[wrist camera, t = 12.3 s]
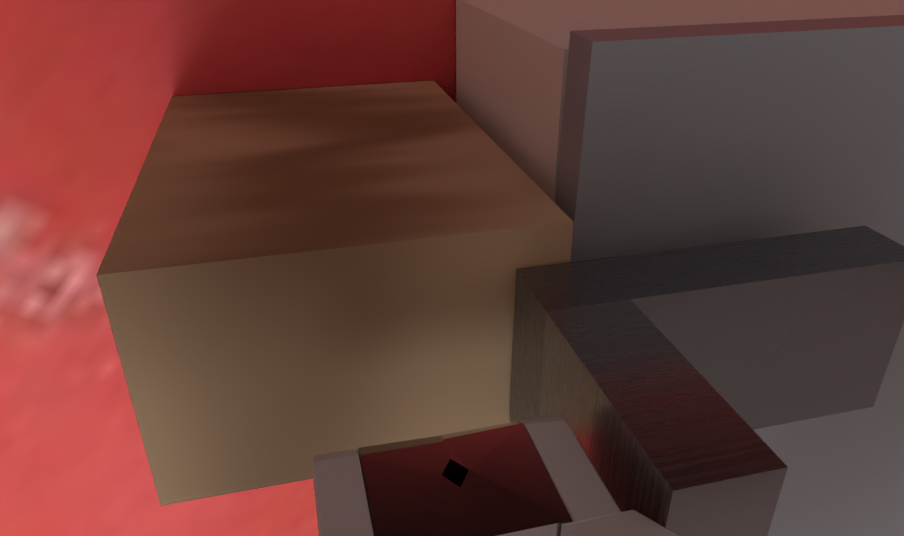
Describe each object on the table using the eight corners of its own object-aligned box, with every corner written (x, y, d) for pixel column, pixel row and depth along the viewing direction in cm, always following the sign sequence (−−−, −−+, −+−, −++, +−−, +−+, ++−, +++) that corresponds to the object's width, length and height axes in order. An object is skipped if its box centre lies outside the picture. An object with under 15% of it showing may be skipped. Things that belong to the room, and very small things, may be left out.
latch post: (433, 80, 18) (573, 221, 10) (435, 221, 20) (555, 434, 12) (172, 96, 17) (95, 274, 9) (201, 246, 18) (161, 505, 11)
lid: (1266, -3, 13) (1320, 3, 13) (976, 523, 21) (1000, 544, 20) (570, 31, 10) (592, 42, 10) (519, 633, 18) (529, 663, 17)
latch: (865, 225, 11) (1169, 388, 8) (822, 365, 13) (1064, 563, 9) (516, 268, 10) (673, 490, 6) (509, 419, 11) (635, 677, 8)
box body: (924, -20, 20) (1208, 14, 14) (809, 372, 27) (969, 509, 21) (456, -3, 17) (564, 49, 11) (456, 433, 24) (524, 615, 18)
